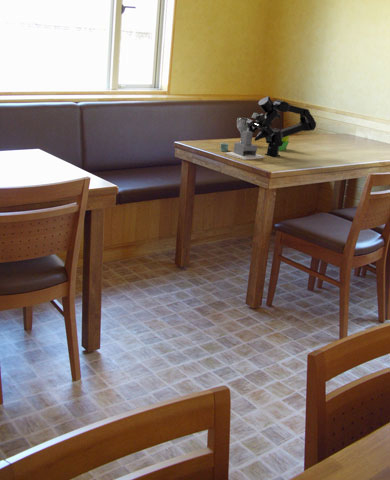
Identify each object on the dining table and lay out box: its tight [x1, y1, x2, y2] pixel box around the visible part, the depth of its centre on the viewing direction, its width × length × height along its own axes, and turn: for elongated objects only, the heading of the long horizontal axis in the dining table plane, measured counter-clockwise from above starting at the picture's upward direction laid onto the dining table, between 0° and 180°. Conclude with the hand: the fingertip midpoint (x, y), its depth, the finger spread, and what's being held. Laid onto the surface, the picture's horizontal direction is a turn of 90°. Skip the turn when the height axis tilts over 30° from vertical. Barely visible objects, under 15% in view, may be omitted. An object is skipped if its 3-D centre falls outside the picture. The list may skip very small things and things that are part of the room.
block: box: [219, 142, 229, 153], centre depth 343 cm, size 4×4×4 cm
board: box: [225, 151, 265, 161], centre depth 334 cm, size 16×14×1 cm
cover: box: [233, 130, 258, 156], centre depth 332 cm, size 9×9×12 cm
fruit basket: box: [279, 135, 290, 152], centre depth 363 cm, size 11×9×11 cm
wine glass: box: [234, 117, 251, 144], centre depth 368 cm, size 8×8×15 cm
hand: (249, 138), depth 332 cm, fingers open, 9 cm apart
